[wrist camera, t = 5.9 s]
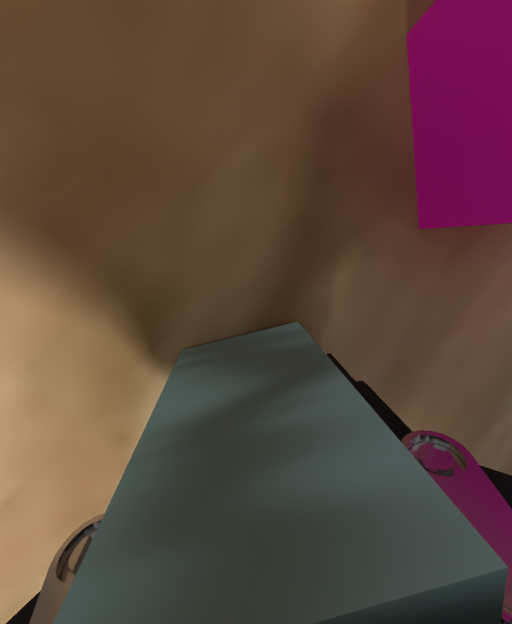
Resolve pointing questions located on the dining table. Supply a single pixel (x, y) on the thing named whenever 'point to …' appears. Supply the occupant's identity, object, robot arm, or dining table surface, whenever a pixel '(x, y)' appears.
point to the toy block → (462, 112)
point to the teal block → (278, 507)
